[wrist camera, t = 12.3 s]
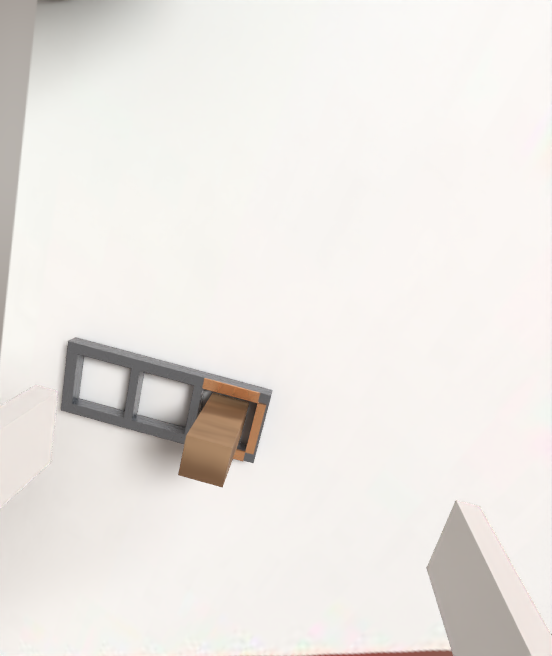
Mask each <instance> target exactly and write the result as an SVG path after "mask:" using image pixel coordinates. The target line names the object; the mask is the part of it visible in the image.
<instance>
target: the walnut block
mask: <svg viewBox="0 0 552 656" xmlns="http://www.w3.org/2000/svg"><path fill="white" fill-rule="evenodd" d="M248 406H249V402H246V401H242V400H238V399H235V398H231V397H227V396H224V395H220V394H216V393H212V394H211V396H210V398H209V399H208V401H207V403H206V404H205V406H204V407H203V409H202V411H201V412H200V414H199V416H198V417H197V419H196V420H195V422H194V424H193V425H192V427H191V429H190V430H189V432H188V433H187V435H186V439H185V444H184V449H183V454H182V459H181V464H180V469H179V473H178V475H180V476H184V477H187V478H191V479H194V480H198V481H201V482H205V483H209V484H212V485H216V486H219V487H223V484H224V482H225V479H226V476H227V473H228V471H229V468H230V465H231V462H232V460H233V457H234V454H235V451H236V449H237V446H238V443H239V440H240V438H241V435H242V430H243V426H244V422H245V418H246V414H247V410H248Z"/></svg>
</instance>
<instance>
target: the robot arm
mask: <svg viewBox="0 0 552 656" xmlns="http://www.w3.org/2000/svg"><path fill="white" fill-rule="evenodd" d="M57 398H58V391H57V390H53V389H50V388H46V387H42V386H39V385H35V386H33V387H31V388H29V389H28V390H26V391H24V392H23V393H21V394H19V395H18V396H16V397H14V398H12V399H11V400H9V401H7V402H6V403H4V404H2V405H1V406H0V509H1V508H2V507H3V506H4V505H5V504H6V503H7V502H8V501H9V500H10V499H12V498H13V497H14V496H15V495H16V494H17V493H18V492H19V491H20V490H21V489H23V488H24V487H25V486H26V485H27V484H28V483H29V482H30V481H31V480H32V479H33V478H35V477H36V476H37V475H38V474H39V473H40V472H41V471H42V470H43V469H44V468H46V467H47V466H48V465H49V464H50V463H51V456H52V447H53V437H54V427H55V418H56V408H57ZM427 571H428V575H429V578H430V581H431V584H432V588H433V591H434V594H435V597H436V601H437V604H438V607H439V611H440V614H441V617H442V620H443V624H444V627H445V630H446V633H447V637H448V640H449V643H450V647H451V650H452V653H453V656H552V634H551V633H550V631H549V629H548V627H547V626H546V624H545V622H544V620H543V618H542V617H541V615H540V613H539V611H538V609H537V608H536V606H535V604H534V602H533V601H532V599H531V597H530V595H529V593H528V592H527V590H526V588H525V586H524V584H523V583H522V581H521V579H520V577H519V575H518V574H517V572H516V570H515V568H514V566H513V565H512V563H511V561H510V559H509V557H508V556H507V554H506V552H505V550H504V548H503V547H502V545H501V543H500V541H499V539H498V538H497V536H496V534H495V532H494V530H493V529H492V527H491V525H490V523H489V521H488V520H487V518H486V516H485V514H484V513H483V511H482V509H481V507H480V506H477V505H473V504H470V503H466V502H462V501H459V500H456V501H455V503H454V506H453V508H452V510H451V513H450V515H449V517H448V519H447V522H446V524H445V526H444V529H443V531H442V533H441V536H440V538H439V540H438V542H437V545H436V547H435V549H434V552H433V554H432V556H431V559H430V561H429V563H428V566H427Z"/></svg>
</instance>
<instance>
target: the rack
mask: <svg viewBox="0 0 552 656" xmlns="http://www.w3.org/2000/svg"><path fill="white" fill-rule="evenodd" d="M84 356H87V357H91V358H95V359H98V360H102V361H106V362H109V363H113V364H117V365H121V366H124V367H128V368H131V374H130V381H129V387H128V394H127V400H126V407H125V411H123V410H119V409H116V408H112V407H108V406H105V405H101V404H97V403H94V402H90V401H86V400H83V399H79V393H80V384H81V376H82V368H83V359H84ZM144 372H146V373H150V374H154V375H158V376H161V377H165V378H169V379H172V380H176V381H180V382H183V383H187V384H191V385H194V389H193V394H192V399H191V404H190V409H189V414H188V419H187V424H186V428H185V427H181V426H178V425H174V424H170V423H167V422H163V421H159V420H156V419H152V418H148V417H145V416H141V415H137V412H138V406H139V400H140V394H141V388H142V382H143V376H144ZM205 389H206V390H210V391H214V392H217V393H221V394H225V395H229V396H232V397H236V398H240V399H243V400H247V401H251V402H254V403H258V404H257V407H256V411H255V415H254V419H253V423H252V427H251V431H250V435H249V439H248V443H247V444H243V443H240V442H239V443H238V446H237V449H236V451H235V454H234V457H233V459H236V460H240V461H243V460H244V461H247V462H251V463H254V459H255V455H256V451H257V447H258V444H259V440H260V436H261V432H262V428H263V425H264V421H265V417H266V413H267V409H268V406H269V402H270V398H271V394H272V390H270V389H266V388H262V387H258V386H255V385H251V384H247V383H244V382H240V381H236V380H232V379H229V378H225V377H221V376H217V375H214V374H210V373H206V372H203V371H199V370H195V369H191V368H188V367H184V366H180V365H176V364H173V363H169V362H165V361H162V360H158V359H154V358H150V357H147V356H143V355H139V354H136V353H132V352H128V351H124V350H121V349H117V348H113V347H109V346H106V345H102V344H98V343H95V342H91V341H87V340H83V339H80V338H73V339H71V340H69V341H68V348H67V358H66V367H65V376H64V386H63V395H62V404H61V410H62V411H66V412H69V413H73V414H77V415H80V416H84V417H87V418H91V419H95V420H98V421H102V422H106V423H109V424H113V425H117V426H120V427H124V428H127V429H131V430H135V431H138V432H142V433H146V434H149V435H153V436H156V437H160V438H164V439H167V440H171V441H175V442H178V443H182V444H185V439H186V435H187V433H188V432H189V430H190V429H191V427H192V425H193V424H194V422H195V420H196V419H197V417H198V416H199V414H200V409H201V405H202V400H203V395H204V391H205Z"/></svg>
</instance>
